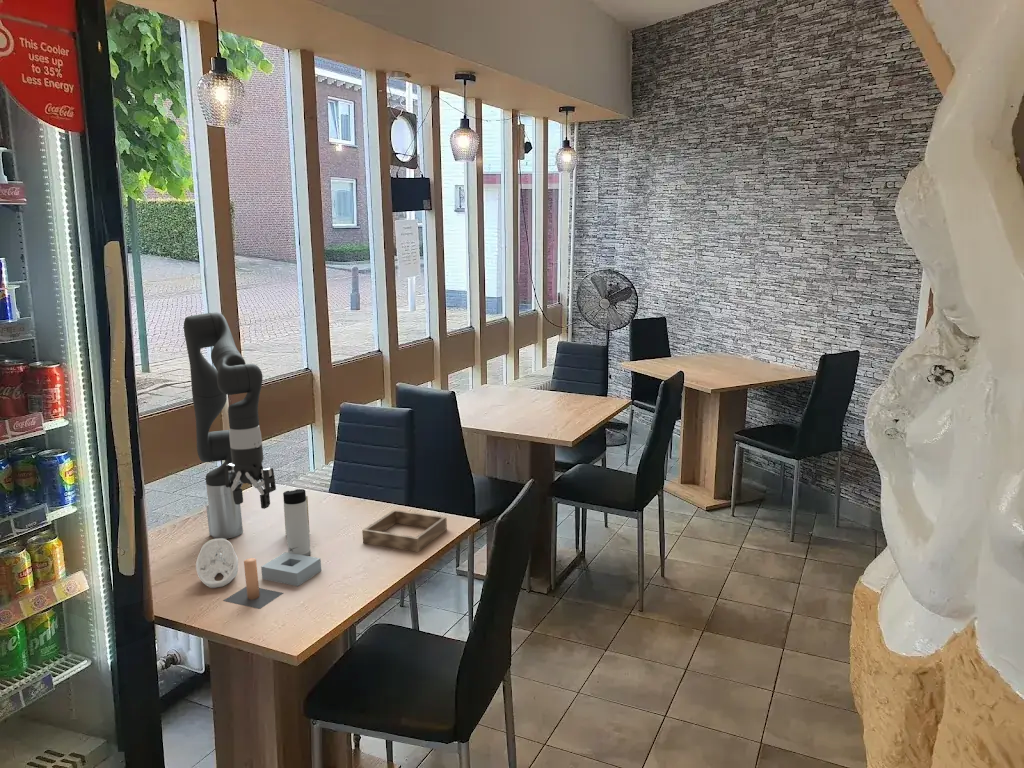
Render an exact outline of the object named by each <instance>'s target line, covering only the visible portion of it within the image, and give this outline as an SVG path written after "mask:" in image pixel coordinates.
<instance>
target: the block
mask: <svg viewBox="0 0 1024 768" xmlns="http://www.w3.org/2000/svg"><path fill="white" fill-rule="evenodd" d="M260 568H261V579H262V580H264V581H265V580H266V581H269V582H275V583H280V584H285V585H289V586H294V587H295V586H296V587H299V586H300V585H303V583H305V582H307V581H308V580H310V579H311V578H312V577H315V576H316V575H317V574H319V573H320V572H321V571H322V562H321V558H320V557H315V556H310V555H309V556H304V555H299V554H293V553H288V551H287V552H283V553H281V554H280V555H278V556H276V557H274V558H273V559H271V560H270V561H268V562H266V563H265V564H263V565H261V566H260Z"/></svg>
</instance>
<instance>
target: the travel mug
mask: <svg viewBox="0 0 1024 768" xmlns="http://www.w3.org/2000/svg"><path fill="white" fill-rule="evenodd" d="M282 495H283V496H282V497H283V509H284V510H283V512H284V511H285V515H284V523H285V522H286V530H285V534H286V533H287V534H286V542H287V552H288V553H293V554H299V555H304V556H310V555H311V554H312V552H311V542H310V541H311V540H310V526H309V527H308V515H307V502H306V496H307V494H306V489H304V488H299V489H298V488H297V489H296V488H295V489H294V490H286V491H284V492H283V493H282Z"/></svg>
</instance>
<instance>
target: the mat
mask: <svg viewBox="0 0 1024 768" xmlns="http://www.w3.org/2000/svg"><path fill="white" fill-rule="evenodd" d="M259 594H260V597H259V598H257V599H253V600H250V599H248V598H247V588H246V586H245V587H243V588H240V589H239V590H238V591H237V592H235V593H233V594H232V595H230V596H228V597H227V598H225V599H223V600H222V601H223V602H227V603H230V604H236V605H240V606H245V607H249V608H253V609H258V610H261V609H263V608H264V607H265V606H266V605H268V604H270V603H271V602H273V601H274V600H276V599H277V598H279V597H280V596H282V595H284V592H283V591H282V592H281V591H276V590H271V589H267V588H262V587H259Z"/></svg>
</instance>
